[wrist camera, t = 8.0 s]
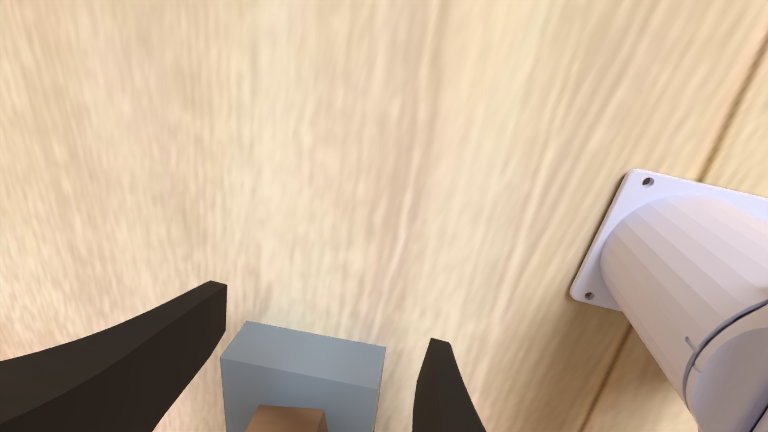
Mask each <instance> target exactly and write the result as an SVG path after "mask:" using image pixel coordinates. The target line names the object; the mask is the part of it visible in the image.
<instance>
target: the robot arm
mask: <svg viewBox="0 0 768 432" xmlns="http://www.w3.org/2000/svg"><path fill="white" fill-rule="evenodd" d="M646 178H650V182H649V183H648V184H646V185H642V182H643V180H644V179H646ZM589 292H592V294H591V295H589V296H585V294H586V293H589ZM570 294H571V296H572V298H573V299H574V300H577V301H580V302H584V303H589V304H593V305H597V306H601V307H605V308H609V309H613V310H617V311H621V312H623V313H624V314H625V316H626V317H627V319H628V320H629V322H630V323H631V325H632V326H633V328H634V329H635V330H636V332H637V333H638V335H639V336H640V338H641V339H642V341H643V342H644V344H645V345H646V347H647V348H648V350H649V351H650V353H651V354H652V356H653V357H654V359H655V360H656V362H657V363H658V365H659V366H660V368H661V369H662V371H663V372H664V374H665V375H666V377H667V378H668V380H669V381H670V383H671V384H672V386H673V387H674V389H675V390H676V392H677V393H678V395H679V396H680V398H681V399H682V401H683V402H684V404H685V405H686V407H687V408H688V410H689V411H690V413H691V414H692V416H693V418H694V419H695V421H696V423H697V426H698V432H768V198H765V197H760V196H756V195H752V194H747V193H743V192H739V191H734V190H730V189H726V188H721V187H717V186H713V185H708V184H704V183H699V182H695V181H691V180H686V179H682V178H678V177H673V176H669V175H665V174H660V173H656V172H652V171H647V170H643V169H632V170H630V171H629V172H627V174H626V175H625V177H624V179H623V181H622V183H621V185H620V187H619V189H618V191H617V193H616V195H615V197H614V199H613V201H612V204H611V206H610V208H609V210H608V212H607V214H606V216H605V218H604V220H603V222H602V224H601V226H600V228H599V230H598V232H597V234H596V236H595V239H594V241H593V243H592V245H591V247H590V249H589V251H588V253H587V255H586V257H585V259H584V261H583V263H582V265H581V267H580V269H579V271H578V274H577V276H576V278H575V280H574V282H573V284H572V286H571V288H570ZM226 304H227V285H226V284H222V283H219V282H215V281H211V280H210V281H208V282H206V283H204V284H202V285H200V286H198V287H196V288H194V289H192V290H190V291H188V292H186V293H184V294H182V295H180V296H178V297H176V298H174V299H172V300H170V301H168V302H166V303H164V304H162V305H160V306H158V307H156V308H154V309H152V310H150V311H147V312H145V313H143V314H141V315H138V316H136V317H134V318H132V319H129V320H127V321H125V322H123V323H120V324H118V325H115V326H113V327H111V328H108V329H105V330H103V331H100V332H97V333H95V334H92V335H89V336H86V337H84V338H81V339H78V340H75V341H72V342H68V343H65V344H62V345H59V346H55V347H52V348H49V349H45V350H42V351H39V352H35V353H32V354H28V355H24V356H20V357H16V358H12V359H8V360H4V361H0V432H152V431H153V430H154V428H155V427H156V425H157V424H158V423H159V421H160V420H161V419H162V417H163V416H164V414H165V413H166V412H167V411H168V409H169V408H170V407H171V406H172V404H173V403H174V402H175V400H176V399H177V398H178V397H179V395H180V394H181V393H182V392H183V390H184V389H185V388H186V387H187V385H188V384H189V383H190V382H191V380H192V379H193V378H194V376H195V375H196V374H197V373H198V371H199V370H200V369H201V367H202V366H203V365H204V364H205V362H206V361H207V360H208V358H209V357H210V356H211V354H212V352H213V351H214V349H215V348H216V346H217V344H218V343H219V341H220V339H221V338H222V336H223V334H224V332H225V331H226ZM412 432H486V430H485V428H484V426H483V424H482V422H481V420H480V418H479V416H478V414H477V412H476V410H475V408H474V406H473V403H472V401H471V399H470V396H469V394H468V392H467V389H466V387H465V385H464V382H463V379H462V377H461V374H460V371H459V369H458V366H457V363H456V360H455V357H454V354H453V351H452V347H451V345H450V343H449V342H446V341H442V340H438V339H434V338H431V339H430V342H429V346H428V349H427V352H426V355H425V358H424V361H423V364H422V367H421V370H420V373H419V377H418V380H417V385H416V392H415V399H414V407H413V425H412Z"/></svg>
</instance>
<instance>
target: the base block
mask: <svg viewBox="0 0 768 432" xmlns="http://www.w3.org/2000/svg"><path fill="white" fill-rule="evenodd" d="M385 351H386V347H381V346H376V345H371V344H365V343H360V342H355V341H350V340H344V339H339V338H334V337H329V336H323V335H318V334H313V333H308V332H302V331H297V330H292V329H286V328H281V327H276V326H271V325H265V324H260V323H255V322H250V321H246V323H245V324H244V326H243V327H242V328H241V330H240V331H239V332H238V334H237V335H236V337H235V338H234V339H233V341H232V342H231V343H230V345H229V346H228V347H227V349H226V350H225V352H224V353H223V354H222V356H221V357H220V363H221V375H222V386H223V398H224V409H225V421H226V432H245V431H246V429H247V427H248V425H249V423H250V421H251V419H252V418H253V416H254V414H255V412H256V410H257V408H258V406H259V405H269V406H284V407H299V408H313V409H324V413H325V418H326V423H327V429H328V432H374V428H375V421H376V414H377V407H378V400H379V393H380V386H381V379H382V372H383V365H384V358H385Z"/></svg>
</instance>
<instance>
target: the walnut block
mask: <svg viewBox="0 0 768 432" xmlns="http://www.w3.org/2000/svg"><path fill="white" fill-rule="evenodd" d="M245 432H328V429H327V423H326V418H325V413H324V409H313V408H299V407H284V406H269V405H259V406H258V408H257V410H256V412H255V414H254V416H253V418H252V419H251V421H250V423H249V425H248V427H247V429H246V431H245Z"/></svg>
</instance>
